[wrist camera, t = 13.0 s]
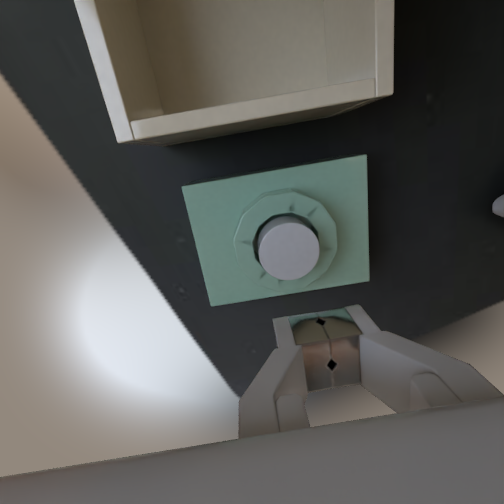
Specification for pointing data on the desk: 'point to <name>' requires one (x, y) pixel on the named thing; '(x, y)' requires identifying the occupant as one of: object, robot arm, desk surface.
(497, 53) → the desk surface
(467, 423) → the robot arm
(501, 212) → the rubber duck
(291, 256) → the flush button
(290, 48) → the beige box
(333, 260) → the green button base
